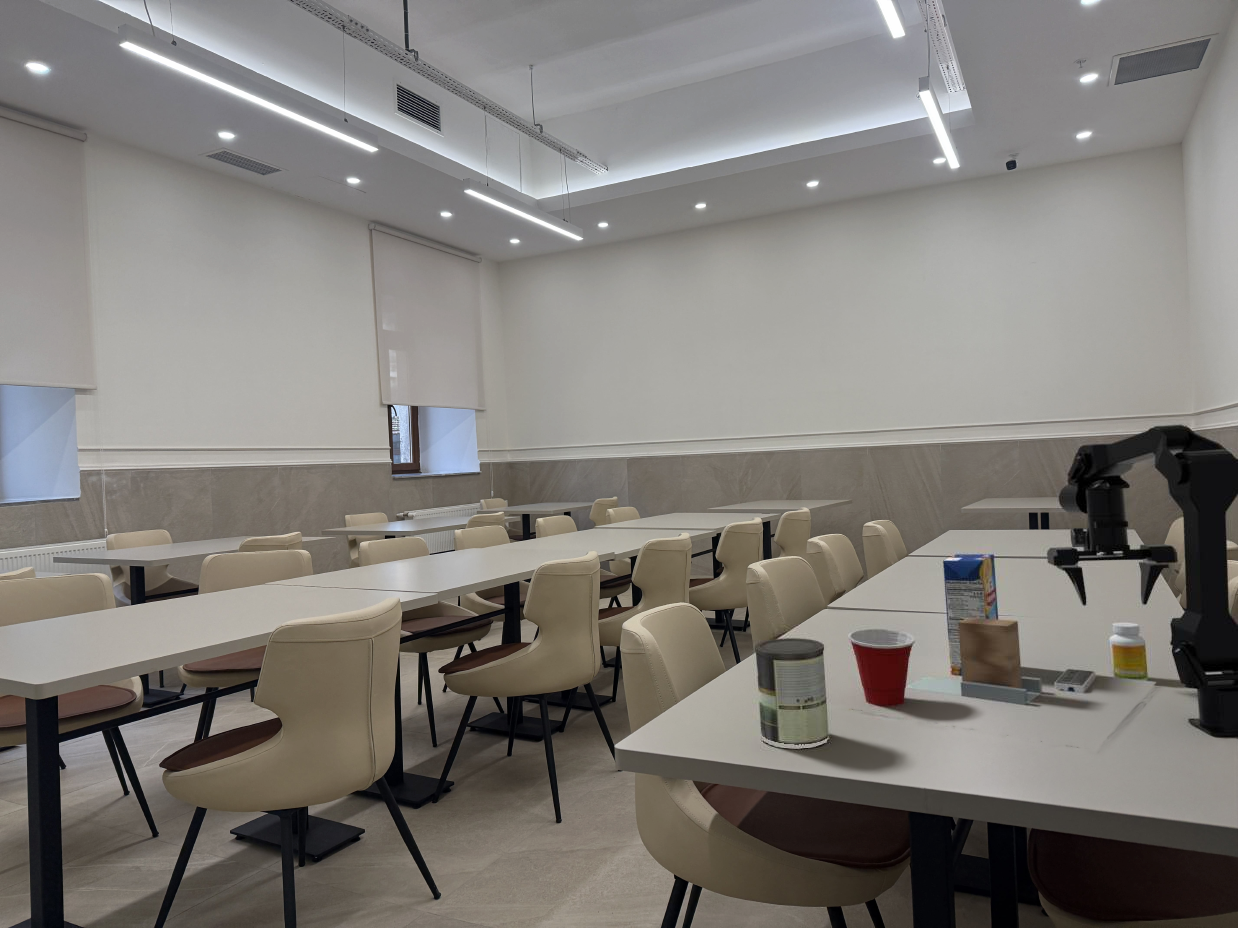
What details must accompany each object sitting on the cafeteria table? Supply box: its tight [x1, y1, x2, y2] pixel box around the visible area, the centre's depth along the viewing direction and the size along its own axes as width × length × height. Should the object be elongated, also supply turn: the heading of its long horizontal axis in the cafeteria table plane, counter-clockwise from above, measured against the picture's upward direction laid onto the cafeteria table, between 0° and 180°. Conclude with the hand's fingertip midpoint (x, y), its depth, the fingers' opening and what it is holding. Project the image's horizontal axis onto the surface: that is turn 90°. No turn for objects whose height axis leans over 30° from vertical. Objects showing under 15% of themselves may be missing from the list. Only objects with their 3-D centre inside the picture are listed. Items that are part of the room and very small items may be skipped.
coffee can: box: [754, 637, 830, 745], centre depth 120 cm, size 10×10×14 cm
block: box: [958, 617, 1022, 689], centre depth 135 cm, size 8×5×12 cm, turn 46°
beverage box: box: [942, 553, 999, 677], centre depth 150 cm, size 7×11×22 cm, turn 145°
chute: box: [905, 675, 1043, 706], centre depth 137 cm, size 20×9×3 cm, turn 46°
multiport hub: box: [1053, 668, 1096, 694], centre depth 137 cm, size 4×11×2 cm, turn 140°
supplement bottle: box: [1109, 621, 1149, 682], centre depth 141 cm, size 5×5×10 cm
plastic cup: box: [847, 628, 916, 707], centre depth 134 cm, size 11×11×12 cm
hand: (1113, 604), depth 138 cm, fingers open, 9 cm apart
